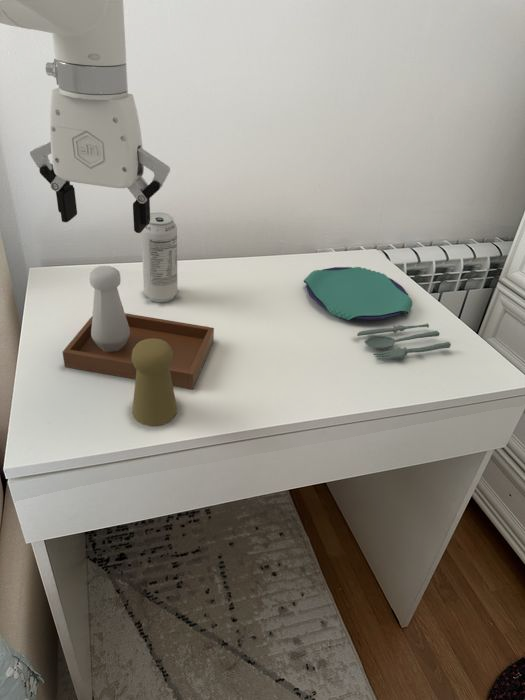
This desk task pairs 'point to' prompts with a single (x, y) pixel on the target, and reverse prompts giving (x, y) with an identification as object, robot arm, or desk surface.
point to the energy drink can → (160, 257)
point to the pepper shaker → (153, 383)
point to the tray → (182, 338)
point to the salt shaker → (108, 310)
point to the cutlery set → (366, 304)
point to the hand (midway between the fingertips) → (105, 223)
